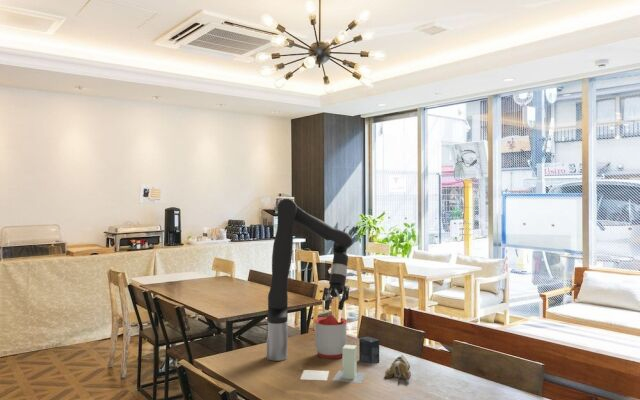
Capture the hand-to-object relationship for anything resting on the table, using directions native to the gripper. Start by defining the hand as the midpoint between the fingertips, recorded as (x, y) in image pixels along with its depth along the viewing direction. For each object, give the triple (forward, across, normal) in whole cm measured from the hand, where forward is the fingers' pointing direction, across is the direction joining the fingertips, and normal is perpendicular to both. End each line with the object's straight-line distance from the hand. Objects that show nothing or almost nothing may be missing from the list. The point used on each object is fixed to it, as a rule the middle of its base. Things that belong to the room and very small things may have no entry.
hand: (333, 309), depth 222 cm
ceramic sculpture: (+25, +25, +19) cm, 40 cm away
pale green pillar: (+28, +12, +2) cm, 30 cm away
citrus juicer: (+18, -14, +17) cm, 28 cm away
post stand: (+28, +12, +3) cm, 31 cm away
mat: (+30, +1, -6) cm, 31 cm away
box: (+19, +4, +24) cm, 30 cm away
